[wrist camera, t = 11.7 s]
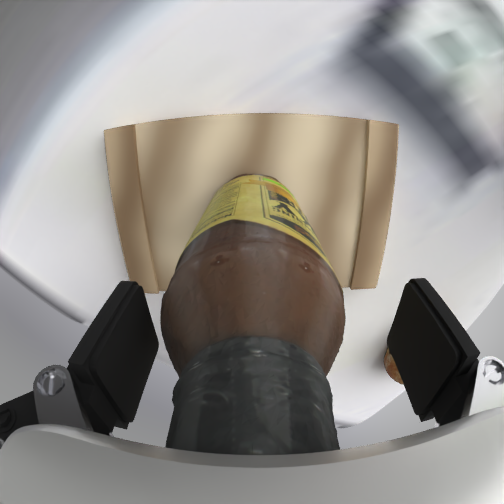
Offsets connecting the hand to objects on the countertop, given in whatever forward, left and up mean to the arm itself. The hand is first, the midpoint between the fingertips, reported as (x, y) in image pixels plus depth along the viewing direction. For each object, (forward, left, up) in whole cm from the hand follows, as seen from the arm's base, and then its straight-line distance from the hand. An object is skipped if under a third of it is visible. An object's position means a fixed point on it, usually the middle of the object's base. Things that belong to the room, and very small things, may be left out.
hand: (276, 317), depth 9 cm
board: (+1, 0, -14) cm, 14 cm away
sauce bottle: (+1, 0, -12) cm, 12 cm away
